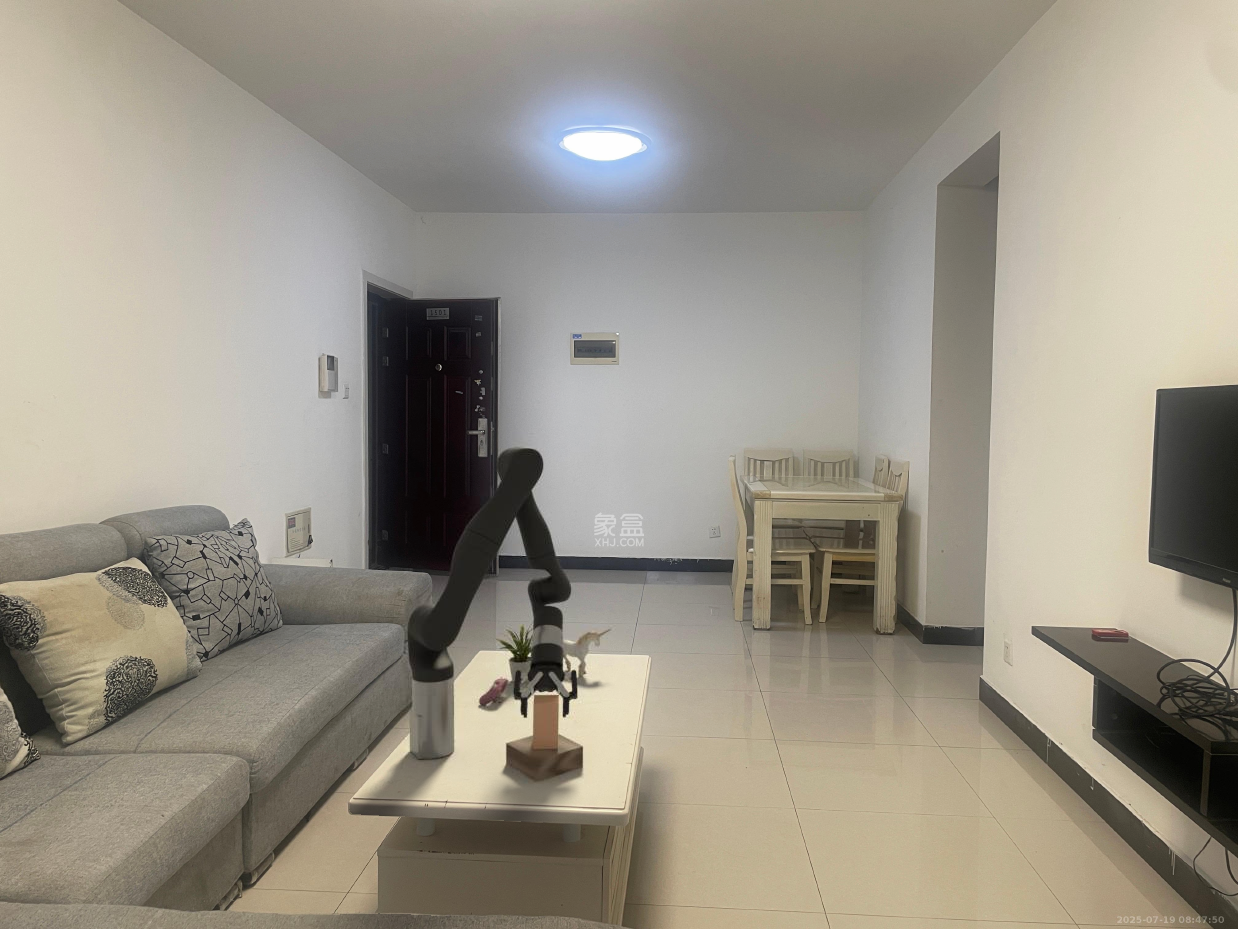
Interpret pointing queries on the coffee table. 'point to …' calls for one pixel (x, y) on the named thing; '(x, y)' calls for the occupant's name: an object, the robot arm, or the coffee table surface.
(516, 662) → the house plant
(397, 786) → the coffee table surface
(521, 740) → the walnut block
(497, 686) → the pink rounded piece
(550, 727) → the peach block
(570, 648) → the unicorn figurine
